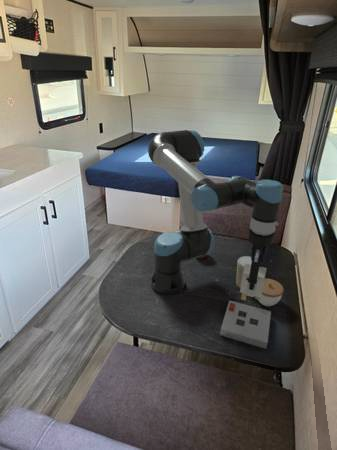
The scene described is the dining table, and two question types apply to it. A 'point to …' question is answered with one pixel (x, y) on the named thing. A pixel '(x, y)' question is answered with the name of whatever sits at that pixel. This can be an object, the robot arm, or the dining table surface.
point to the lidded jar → (271, 292)
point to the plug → (259, 282)
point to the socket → (246, 324)
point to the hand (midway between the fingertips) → (251, 289)
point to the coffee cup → (241, 268)
